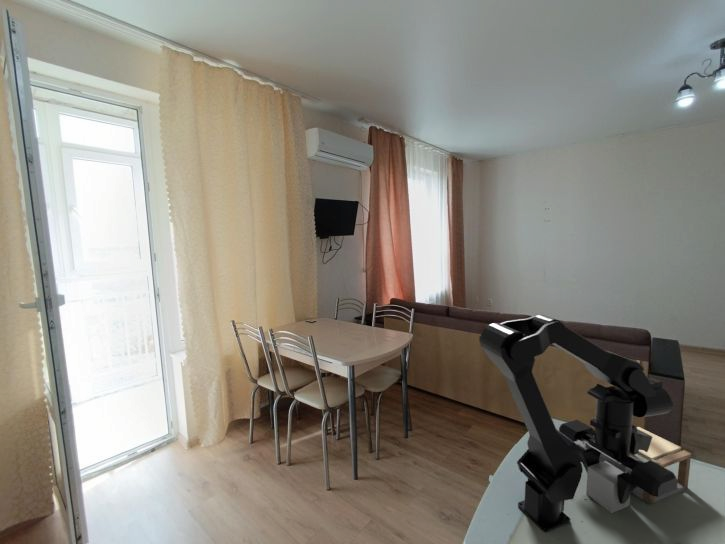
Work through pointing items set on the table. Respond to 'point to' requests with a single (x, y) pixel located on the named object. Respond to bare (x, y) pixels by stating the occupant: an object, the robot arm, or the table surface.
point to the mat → (639, 493)
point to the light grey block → (605, 486)
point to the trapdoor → (655, 451)
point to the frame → (683, 470)
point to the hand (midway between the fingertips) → (607, 492)
